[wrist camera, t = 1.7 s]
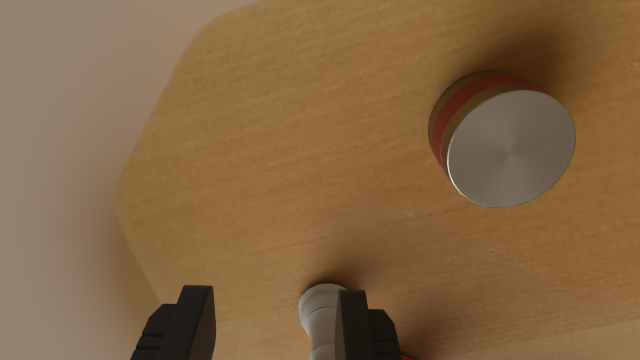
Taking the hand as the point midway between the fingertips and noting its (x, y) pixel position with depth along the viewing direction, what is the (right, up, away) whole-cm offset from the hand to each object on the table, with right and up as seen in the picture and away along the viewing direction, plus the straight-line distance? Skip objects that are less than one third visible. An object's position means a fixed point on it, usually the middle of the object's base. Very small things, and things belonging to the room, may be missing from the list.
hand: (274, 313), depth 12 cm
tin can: (+12, +7, +16) cm, 21 cm away
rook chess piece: (+2, -6, +22) cm, 23 cm away
